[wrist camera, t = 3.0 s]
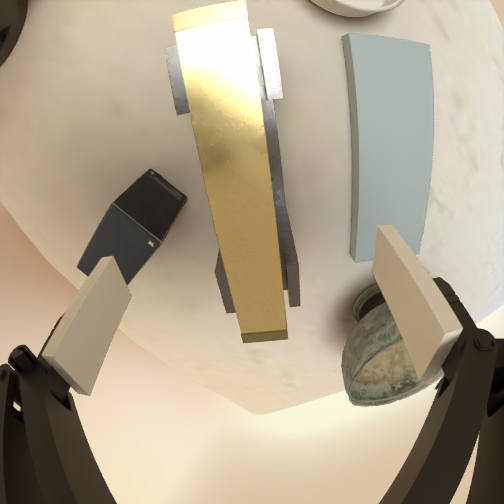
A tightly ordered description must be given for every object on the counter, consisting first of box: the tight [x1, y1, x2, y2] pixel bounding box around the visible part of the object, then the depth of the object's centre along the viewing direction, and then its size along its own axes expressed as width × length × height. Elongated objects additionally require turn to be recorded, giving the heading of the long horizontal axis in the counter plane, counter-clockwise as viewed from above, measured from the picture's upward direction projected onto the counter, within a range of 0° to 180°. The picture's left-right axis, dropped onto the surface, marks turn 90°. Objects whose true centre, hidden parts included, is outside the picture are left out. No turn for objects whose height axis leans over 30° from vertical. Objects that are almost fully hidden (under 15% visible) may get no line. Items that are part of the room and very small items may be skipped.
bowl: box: [341, 283, 444, 406], centre depth 37 cm, size 20×19×15 cm
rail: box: [172, 0, 288, 343], centre depth 20 cm, size 4×26×5 cm, turn 8°
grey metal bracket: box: [164, 28, 300, 313], centre depth 25 cm, size 7×24×12 cm, turn 8°
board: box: [342, 33, 434, 263], centre depth 28 cm, size 10×28×2 cm, turn 8°
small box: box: [77, 169, 187, 285], centre depth 30 cm, size 11×6×10 cm, turn 136°
